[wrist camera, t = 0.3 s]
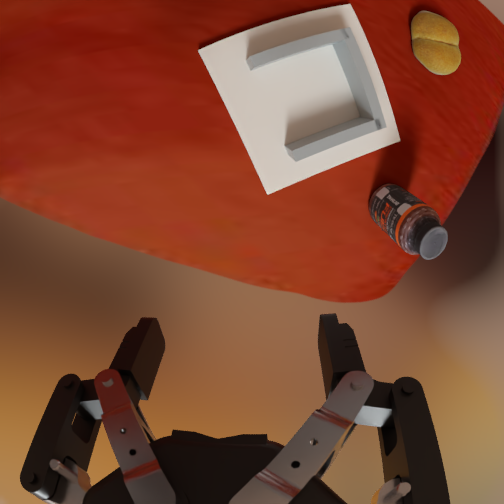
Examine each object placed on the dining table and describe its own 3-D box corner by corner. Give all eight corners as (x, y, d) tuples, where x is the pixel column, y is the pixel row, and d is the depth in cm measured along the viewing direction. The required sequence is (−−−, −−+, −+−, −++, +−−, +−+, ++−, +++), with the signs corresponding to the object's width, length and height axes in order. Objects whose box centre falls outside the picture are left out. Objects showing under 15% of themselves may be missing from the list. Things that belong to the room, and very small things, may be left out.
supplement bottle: (363, 189, 35) (411, 227, 25) (401, 176, 34) (455, 209, 25) (370, 229, 38) (413, 275, 28) (405, 216, 37) (453, 256, 28)
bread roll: (410, 69, 27) (429, 69, 24) (404, 8, 23) (421, 3, 19) (454, 79, 28) (473, 81, 24) (449, 23, 23) (467, 21, 20)
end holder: (266, 192, 34) (272, 205, 30) (198, 51, 25) (194, 44, 21) (396, 139, 32) (416, 146, 28) (346, 5, 23) (363, -4, 19)
